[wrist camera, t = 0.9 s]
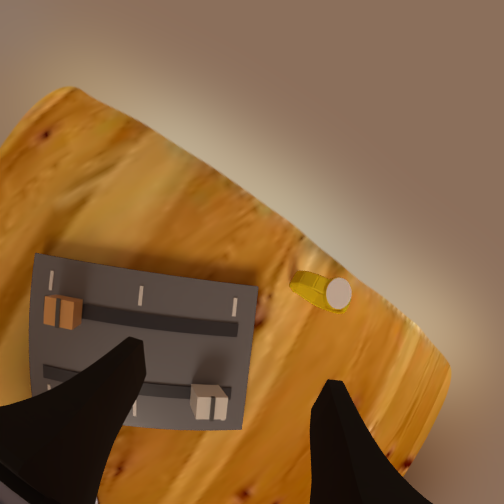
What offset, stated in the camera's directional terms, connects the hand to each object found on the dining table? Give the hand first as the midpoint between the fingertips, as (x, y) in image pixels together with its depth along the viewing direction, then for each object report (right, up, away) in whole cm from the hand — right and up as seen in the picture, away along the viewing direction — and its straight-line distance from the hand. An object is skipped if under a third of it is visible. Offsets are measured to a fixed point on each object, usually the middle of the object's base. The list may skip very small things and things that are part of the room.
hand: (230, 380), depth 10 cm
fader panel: (-9, -4, +13) cm, 16 cm away
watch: (+6, +1, +19) cm, 20 cm away
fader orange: (-14, 0, +9) cm, 17 cm away
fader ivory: (-3, -7, +12) cm, 15 cm away
